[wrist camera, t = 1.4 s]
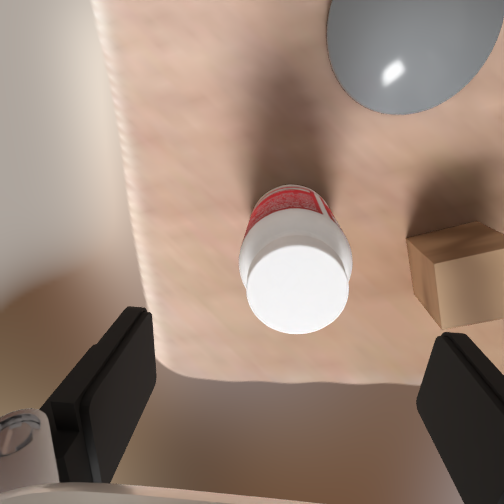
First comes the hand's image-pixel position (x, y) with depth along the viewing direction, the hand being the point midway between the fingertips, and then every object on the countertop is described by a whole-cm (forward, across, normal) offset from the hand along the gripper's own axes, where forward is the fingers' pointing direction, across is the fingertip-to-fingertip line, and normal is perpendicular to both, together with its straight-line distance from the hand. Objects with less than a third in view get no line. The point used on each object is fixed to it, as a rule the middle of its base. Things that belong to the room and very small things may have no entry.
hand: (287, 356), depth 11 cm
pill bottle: (+16, -1, 0) cm, 16 cm away
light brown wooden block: (+15, -13, +2) cm, 20 cm away
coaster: (+15, -7, -13) cm, 21 cm away
